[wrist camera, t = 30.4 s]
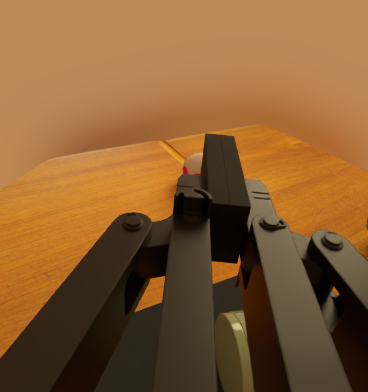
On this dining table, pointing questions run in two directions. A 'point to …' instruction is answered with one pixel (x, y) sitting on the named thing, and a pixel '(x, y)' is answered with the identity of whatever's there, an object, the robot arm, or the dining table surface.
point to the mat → (154, 344)
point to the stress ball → (193, 164)
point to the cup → (233, 352)
